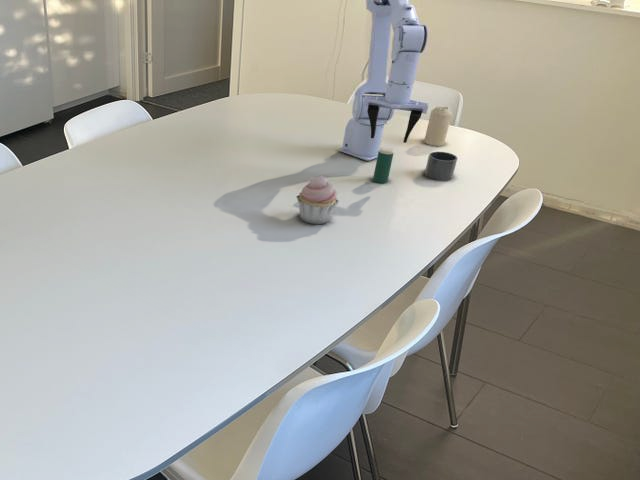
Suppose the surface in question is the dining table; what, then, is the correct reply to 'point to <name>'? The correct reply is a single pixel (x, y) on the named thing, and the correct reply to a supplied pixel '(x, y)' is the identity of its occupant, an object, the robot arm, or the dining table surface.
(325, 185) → the cupcake
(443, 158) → the cup
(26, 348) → the dining table surface
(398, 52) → the robot arm
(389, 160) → the cylinder
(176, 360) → the dining table surface
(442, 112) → the candle
